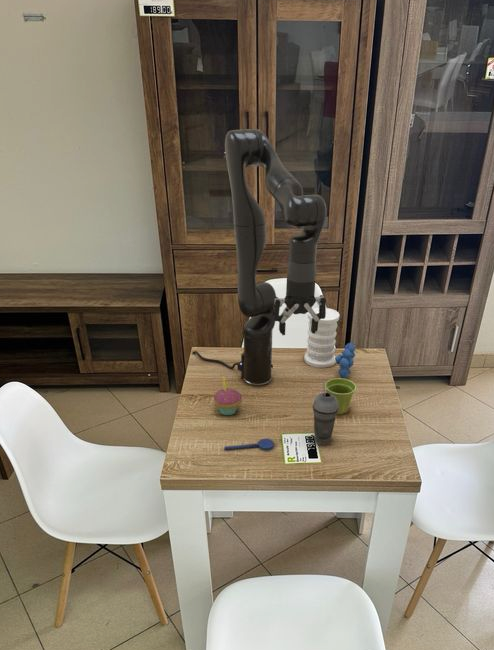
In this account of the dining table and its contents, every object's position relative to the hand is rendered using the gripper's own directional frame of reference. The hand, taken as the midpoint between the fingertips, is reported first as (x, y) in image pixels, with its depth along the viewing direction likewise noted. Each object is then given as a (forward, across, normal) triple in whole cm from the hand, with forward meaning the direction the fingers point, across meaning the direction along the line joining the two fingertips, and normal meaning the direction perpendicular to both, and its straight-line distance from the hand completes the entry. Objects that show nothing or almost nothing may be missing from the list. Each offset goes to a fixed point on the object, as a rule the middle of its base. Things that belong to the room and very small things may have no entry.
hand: (298, 333), depth 150 cm
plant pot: (+28, -15, -2) cm, 32 cm away
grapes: (+28, -23, -23) cm, 43 cm away
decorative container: (+28, -18, -35) cm, 48 cm away
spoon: (+28, +15, +13) cm, 34 cm away
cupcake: (+28, +19, -6) cm, 35 cm away
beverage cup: (+28, -6, +13) cm, 32 cm away
